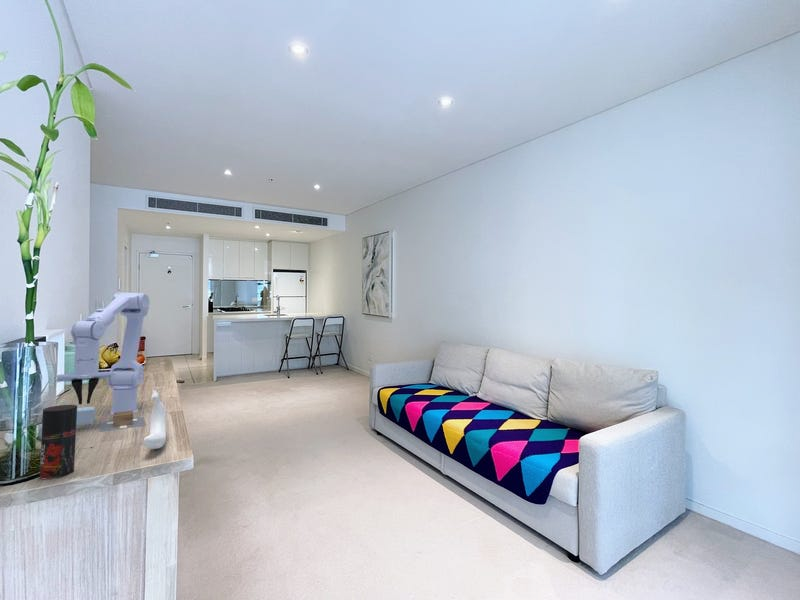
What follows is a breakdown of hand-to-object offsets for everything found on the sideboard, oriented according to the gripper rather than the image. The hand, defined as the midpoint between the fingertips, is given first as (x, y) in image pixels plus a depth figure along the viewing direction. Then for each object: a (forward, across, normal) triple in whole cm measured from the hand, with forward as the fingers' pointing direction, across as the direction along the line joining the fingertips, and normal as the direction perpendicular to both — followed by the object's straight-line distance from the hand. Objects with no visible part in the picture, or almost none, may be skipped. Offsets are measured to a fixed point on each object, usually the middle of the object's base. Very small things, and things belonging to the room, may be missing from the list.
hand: (84, 403), depth 119 cm
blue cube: (+8, 0, +8) cm, 12 cm away
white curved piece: (+9, +16, -28) cm, 34 cm away
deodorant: (+9, -3, -36) cm, 37 cm away
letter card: (+8, +10, 0) cm, 13 cm away
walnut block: (+8, +10, 0) cm, 13 cm away
